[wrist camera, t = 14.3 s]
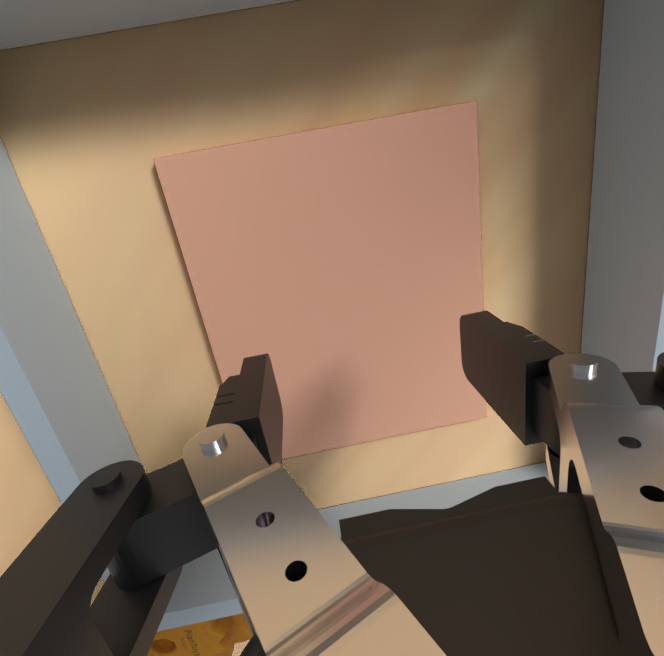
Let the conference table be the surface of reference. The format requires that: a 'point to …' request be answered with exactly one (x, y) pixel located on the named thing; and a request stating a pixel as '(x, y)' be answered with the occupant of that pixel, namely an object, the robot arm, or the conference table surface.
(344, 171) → the resting pad
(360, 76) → the conference table surface
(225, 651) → the gear puzzle
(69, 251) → the conference table surface
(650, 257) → the grey flat square frame
